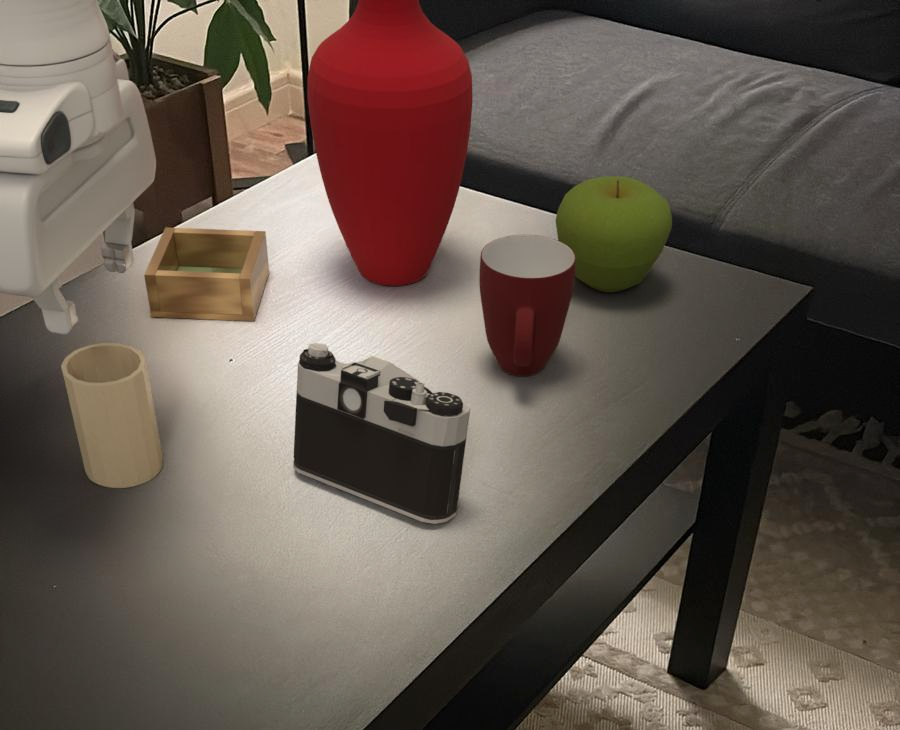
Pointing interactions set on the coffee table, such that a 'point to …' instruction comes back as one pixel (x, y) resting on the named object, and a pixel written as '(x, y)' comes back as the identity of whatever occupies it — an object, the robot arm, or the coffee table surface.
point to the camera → (379, 434)
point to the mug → (525, 299)
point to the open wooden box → (207, 274)
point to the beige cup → (113, 414)
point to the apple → (613, 230)
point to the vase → (390, 135)
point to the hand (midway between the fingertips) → (92, 297)
